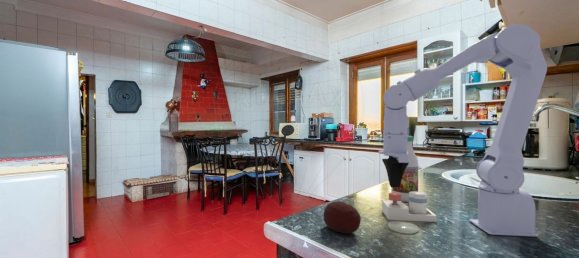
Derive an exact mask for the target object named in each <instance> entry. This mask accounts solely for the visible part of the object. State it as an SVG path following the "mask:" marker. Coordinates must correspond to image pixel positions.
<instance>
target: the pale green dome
mask: <svg viewBox="0 0 579 258" xmlns="http://www.w3.org/2000/svg"><path fill="white" fill-rule="evenodd" d="M387 227H388V229H389V230H391V231H393V232H396V233H400V234H404V235H405V234H406V235H413V234H416V233H419V229H420V228H419V227H418V226H417V224H414V223H411V222H410V221H404V220H391V221H389V222H388V223H387Z"/></svg>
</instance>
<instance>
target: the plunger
mask: <svg viewBox="0 0 579 258" xmlns="http://www.w3.org/2000/svg"><path fill="white" fill-rule="evenodd" d="M388 200H391V201H393V205H397V201H401V194H399V193H391V192H389V193H388ZM401 202H402V201H401Z"/></svg>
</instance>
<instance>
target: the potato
mask: <svg viewBox="0 0 579 258" xmlns="http://www.w3.org/2000/svg"><path fill="white" fill-rule="evenodd" d="M322 218H323V220H324V224H326V226H327V228H329V229H331V230H333V231H335V232H338V233H342V234H352V233H354V232H356V231H358V230H359V227H360V226H361V220H362V219H361V215H360V212H359V211H358V210H357V209H356V208H355V207H354V206H353V205H351V204H349V203H346V202H344V201H340V200H339V201H332V202H330V203H327V205H326V206H325V208H324V211H323V217H322Z"/></svg>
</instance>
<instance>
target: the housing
mask: <svg viewBox="0 0 579 258" xmlns="http://www.w3.org/2000/svg"><path fill="white" fill-rule="evenodd" d="M381 204H382V205H381V207H382V209H381V211H382V213H383V215H384V216H385V217H386V218H387V220H388V221H404V222H431V223H433V222H434V223H437V215H436V214H435V213H434V212H432V211H431V210H430V209H429V208H427V214H410V213H409V206H407V205H406V204H405V202H402V201H397V205H393V201H391V200H389V199H388V200H387V199H386V200H384V199H383V200H381Z"/></svg>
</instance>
